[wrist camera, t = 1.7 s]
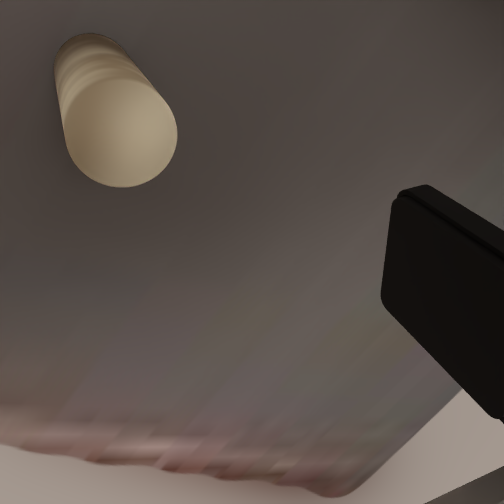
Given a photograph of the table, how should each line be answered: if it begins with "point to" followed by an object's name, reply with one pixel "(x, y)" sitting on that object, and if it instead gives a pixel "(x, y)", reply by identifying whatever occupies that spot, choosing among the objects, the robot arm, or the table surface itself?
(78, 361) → the table surface
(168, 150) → the dowel
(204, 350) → the table surface
